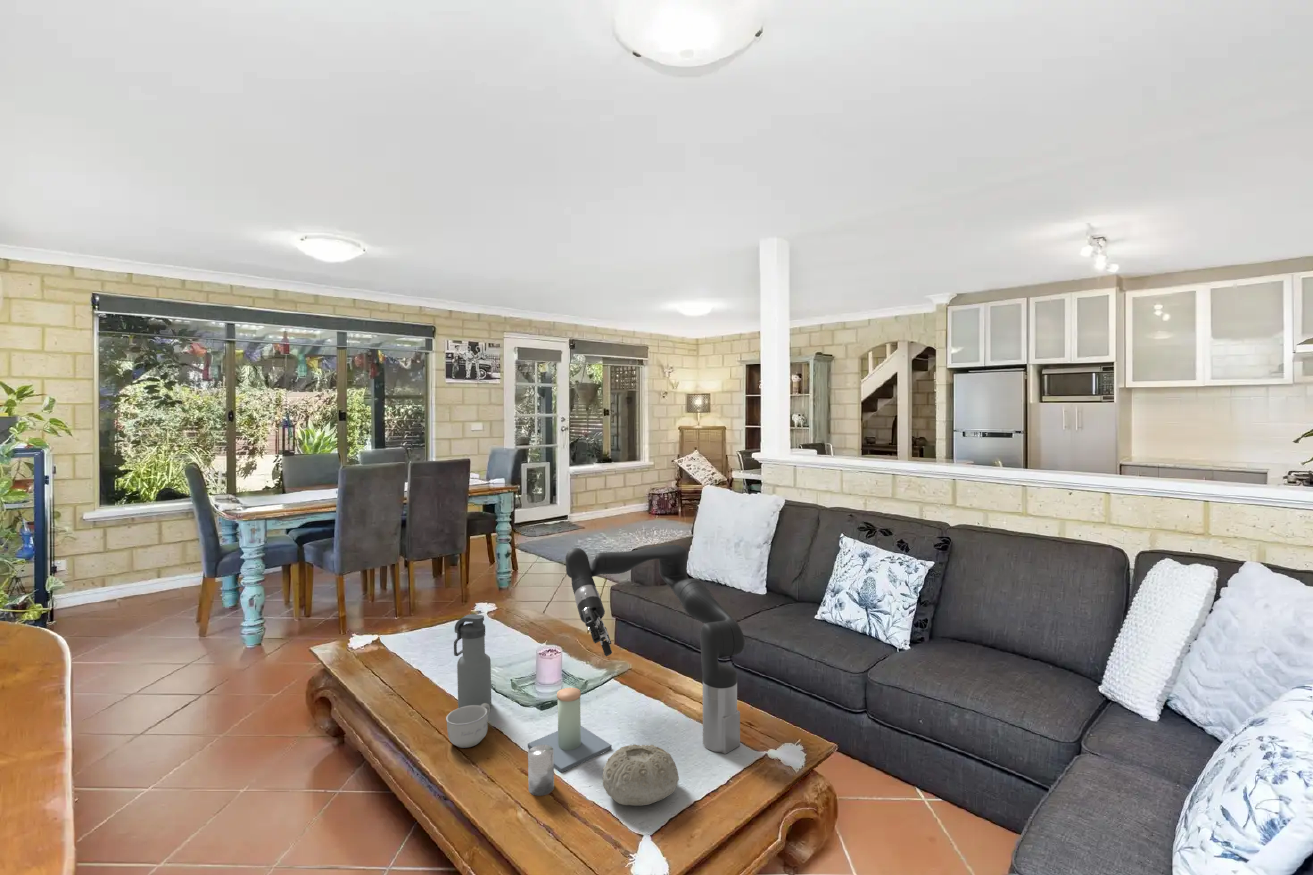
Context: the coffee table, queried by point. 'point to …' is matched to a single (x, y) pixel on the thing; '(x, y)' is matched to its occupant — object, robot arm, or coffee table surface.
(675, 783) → the decorative shell
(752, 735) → the coffee table surface
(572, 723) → the sage tin
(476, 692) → the water bottle
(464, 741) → the teacup
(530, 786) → the steel tin
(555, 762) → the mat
